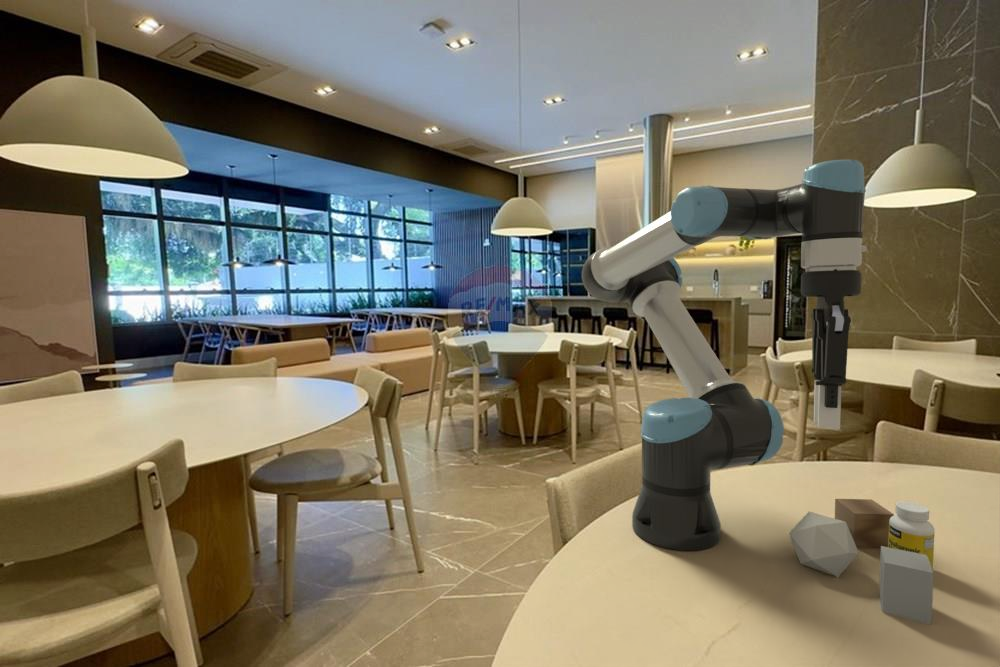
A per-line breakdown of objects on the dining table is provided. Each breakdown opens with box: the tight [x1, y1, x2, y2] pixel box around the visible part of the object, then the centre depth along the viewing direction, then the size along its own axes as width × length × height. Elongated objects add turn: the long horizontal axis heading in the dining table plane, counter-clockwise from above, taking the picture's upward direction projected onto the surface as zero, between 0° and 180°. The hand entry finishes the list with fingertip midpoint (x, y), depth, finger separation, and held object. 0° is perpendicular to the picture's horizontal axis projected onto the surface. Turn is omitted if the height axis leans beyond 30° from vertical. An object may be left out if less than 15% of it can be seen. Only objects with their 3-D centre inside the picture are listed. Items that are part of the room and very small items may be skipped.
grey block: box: [878, 546, 935, 625], centre depth 68 cm, size 5×5×7 cm
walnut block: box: [834, 498, 895, 550], centre depth 86 cm, size 6×6×6 cm
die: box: [788, 511, 859, 578], centre depth 78 cm, size 8×9×10 cm
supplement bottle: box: [888, 500, 935, 571], centre depth 77 cm, size 5×5×10 cm
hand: (826, 424), depth 77 cm, fingers open, 3 cm apart
